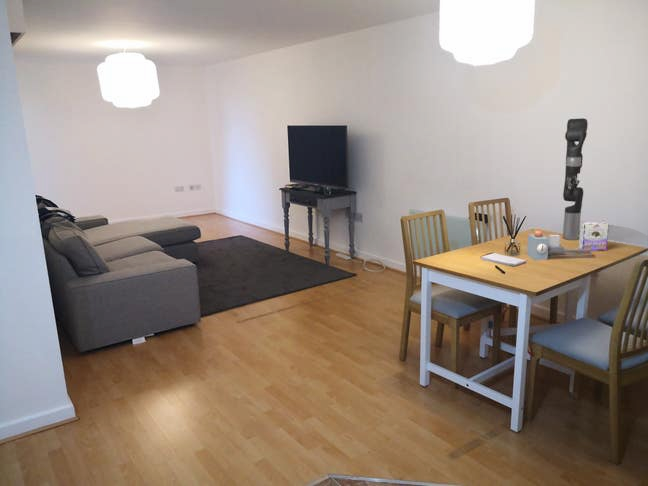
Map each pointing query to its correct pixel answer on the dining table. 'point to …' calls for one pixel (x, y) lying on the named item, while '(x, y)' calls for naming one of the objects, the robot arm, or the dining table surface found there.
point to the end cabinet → (537, 247)
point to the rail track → (571, 254)
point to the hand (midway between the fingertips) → (570, 195)
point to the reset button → (538, 233)
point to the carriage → (555, 244)
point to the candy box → (593, 235)
